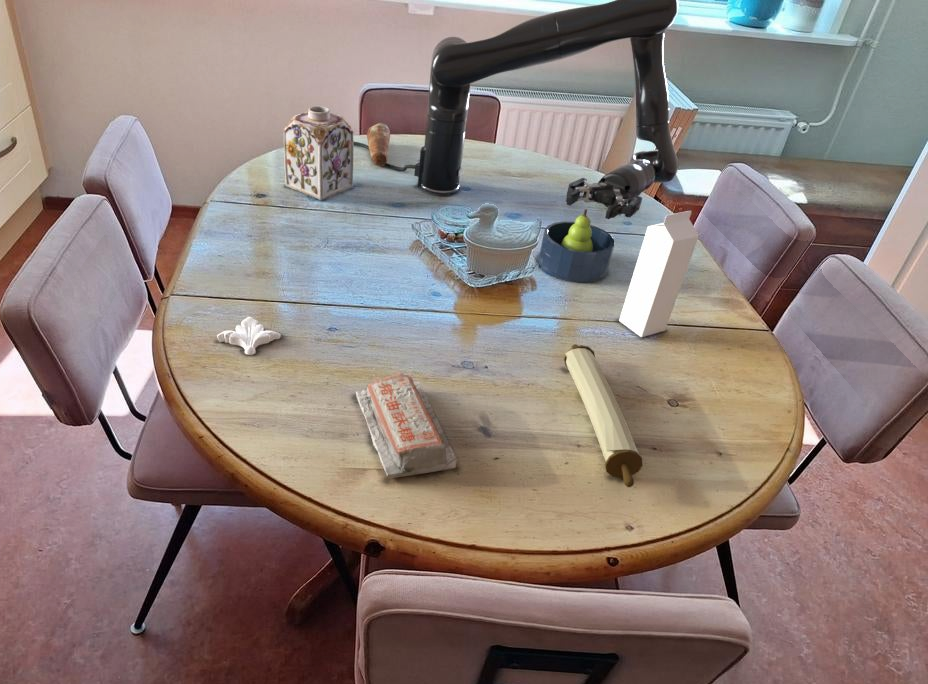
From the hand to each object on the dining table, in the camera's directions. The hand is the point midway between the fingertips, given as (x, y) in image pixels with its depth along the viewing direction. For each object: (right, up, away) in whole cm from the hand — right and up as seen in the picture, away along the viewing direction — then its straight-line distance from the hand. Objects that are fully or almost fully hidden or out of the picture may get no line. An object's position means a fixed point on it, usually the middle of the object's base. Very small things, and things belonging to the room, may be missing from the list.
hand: (588, 207), depth 137 cm
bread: (-43, +26, +48) cm, 70 cm away
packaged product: (-36, -42, -37) cm, 66 cm away
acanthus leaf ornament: (-61, -28, -23) cm, 71 cm away
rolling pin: (-7, -40, -32) cm, 52 cm away
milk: (+7, -24, -9) cm, 27 cm away
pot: (-2, -10, +7) cm, 13 cm away
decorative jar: (-57, +12, +28) cm, 64 cm away
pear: (-1, -10, +7) cm, 12 cm away
